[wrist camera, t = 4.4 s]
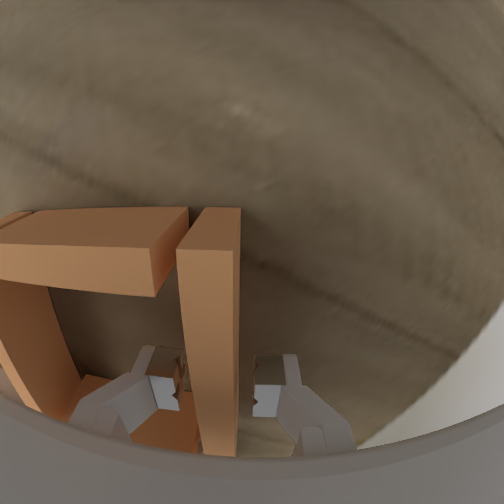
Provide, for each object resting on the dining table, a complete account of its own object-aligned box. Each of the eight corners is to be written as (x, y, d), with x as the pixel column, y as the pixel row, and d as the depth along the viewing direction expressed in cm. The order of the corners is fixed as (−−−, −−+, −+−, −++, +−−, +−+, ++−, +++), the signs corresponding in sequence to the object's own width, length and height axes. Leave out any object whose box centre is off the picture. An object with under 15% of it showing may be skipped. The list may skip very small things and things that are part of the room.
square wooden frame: (16, 212, 9) (-45, 242, 6) (240, 207, 10) (233, 251, 6) (69, 381, 13) (42, 427, 10) (238, 408, 13) (235, 472, 10)
